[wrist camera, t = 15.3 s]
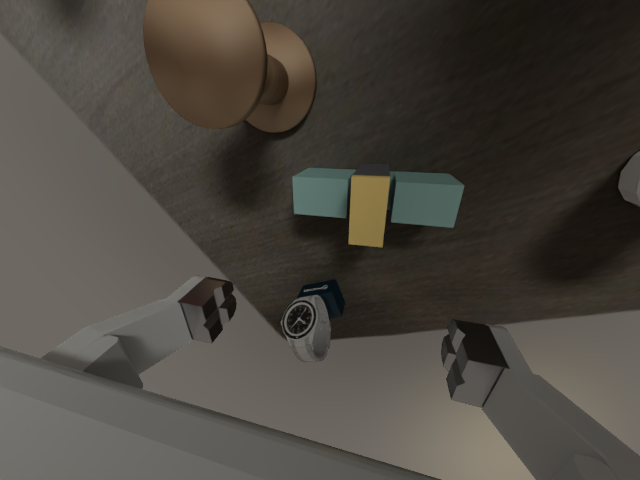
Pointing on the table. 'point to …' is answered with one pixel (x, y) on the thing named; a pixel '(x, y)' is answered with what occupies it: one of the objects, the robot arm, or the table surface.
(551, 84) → the table surface
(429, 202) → the notch board
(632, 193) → the white cup
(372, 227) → the yellow and black block
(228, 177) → the table surface
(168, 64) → the bobbin
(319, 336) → the watch
